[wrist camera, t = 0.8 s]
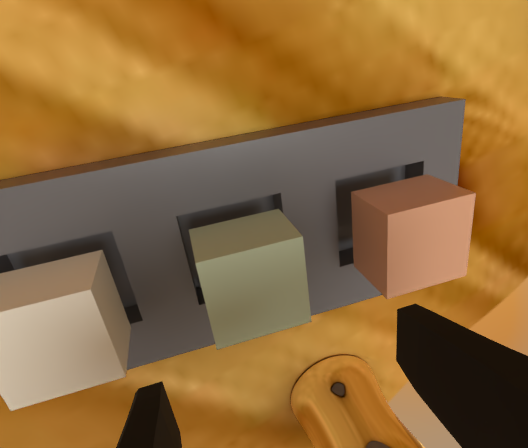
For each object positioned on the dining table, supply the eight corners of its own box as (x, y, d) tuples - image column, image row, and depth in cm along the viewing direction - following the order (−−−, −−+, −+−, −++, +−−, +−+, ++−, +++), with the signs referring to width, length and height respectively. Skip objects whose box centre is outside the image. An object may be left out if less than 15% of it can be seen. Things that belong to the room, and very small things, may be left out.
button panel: (430, 261, 23) (448, 275, 22) (20, 377, 19) (8, 404, 17) (440, 96, 19) (465, 98, 17) (-84, 196, 15) (-111, 210, 13)
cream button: (130, 326, 16) (125, 376, 14) (35, 352, 16) (10, 411, 13) (102, 249, 15) (90, 289, 12) (-6, 274, 14) (-44, 323, 11)
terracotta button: (423, 246, 19) (466, 275, 17) (353, 265, 18) (387, 299, 16) (427, 174, 18) (475, 192, 15) (351, 191, 17) (387, 215, 14)
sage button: (288, 283, 18) (311, 321, 15) (207, 305, 17) (217, 349, 14) (278, 208, 16) (302, 236, 13) (188, 229, 15) (195, 263, 13)
